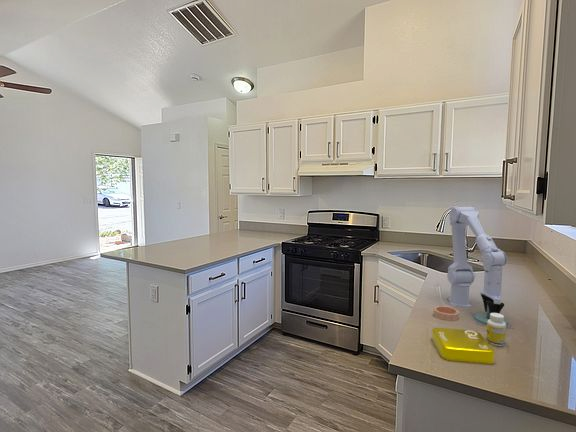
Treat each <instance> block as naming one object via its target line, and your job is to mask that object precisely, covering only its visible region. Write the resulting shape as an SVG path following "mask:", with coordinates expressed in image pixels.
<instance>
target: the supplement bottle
mask: <svg viewBox="0 0 576 432" xmlns="http://www.w3.org/2000/svg"><path fill="white" fill-rule="evenodd" d="M504 317H505V315H503V314H501V313H490V319H489V320H488V321H487V326H486V341H487V342H488V343H489V344H490V345H491V346H495V347H504V346H506V337H507V336H506V335H507V333H506V332H507V328H506V323H505V322H504Z"/></svg>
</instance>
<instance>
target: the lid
mask: <svg viewBox="0 0 576 432" xmlns="http://www.w3.org/2000/svg"><path fill="white" fill-rule="evenodd" d="M475 313H476V314H475V316H474V318H475V319H476V320H477V321H479V322H481V323H484V324H487V321H488V320H489V319H490V314H489V307H488V304H487V312H485V311H484V312H482V311H481V312H480V311H479V312H475ZM504 322H505V323H506V325H507V324H508V322H509V321H508V318H506V317H505V318H504Z"/></svg>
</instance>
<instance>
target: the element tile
mask: <svg viewBox="0 0 576 432" xmlns="http://www.w3.org/2000/svg"><path fill="white" fill-rule="evenodd" d="M431 331H432V332H431V341H432V343H433V345H434V346H435V348H436V350H437V352H438V354H439V355H440V357H441V358H442V359H443V360H446V361H450V362H463V363H472V364H473V363H475V364H485V365H493V364H494V363H495V349H494V348H493V346H492V344H490V343H488V341H487V339H485V338H484V336H483V335H482V334H481V333H480V332H479V331H477V330H473V329H461V328H460V329H459V328H444V327H433V328H432V330H431Z"/></svg>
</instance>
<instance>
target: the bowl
mask: <svg viewBox="0 0 576 432" xmlns="http://www.w3.org/2000/svg"><path fill="white" fill-rule="evenodd" d="M432 317H434V318H437V319H439V320H443V321H449V322H453V321H459V319H460V311H459V310H458V309H456V308H454V307H450V306H445V305H437V306H434V307H433V315H432Z"/></svg>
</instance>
